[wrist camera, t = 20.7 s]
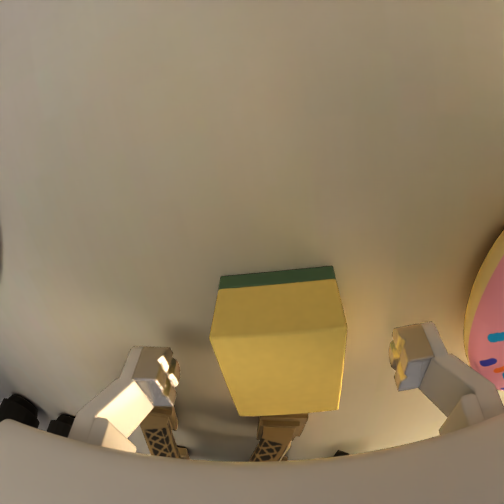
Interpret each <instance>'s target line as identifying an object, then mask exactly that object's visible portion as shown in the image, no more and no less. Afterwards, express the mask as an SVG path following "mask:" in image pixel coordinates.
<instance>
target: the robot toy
mask: <svg viewBox="0 0 504 504" xmlns="http://www.w3.org/2000/svg"><path fill="white" fill-rule="evenodd" d="M5 419H11V420H15V421H17V422H20V423H22V424H25V425H28V426H31V427H34V428H38V426H39V420H38V419H37V409H36V408H35V407H34V406H33V405H32V404H31V403H30V402H28V401H27V400H25V399H24V398H22V397H20V396H18V395H15V394H13V395H12V396H11V397H10V398H9V399H7V398H4V399H3V401H2V403H1V405H0V422H1V421H3V420H5ZM73 422H74V418H72V417H69V416H66V415H61V416H60V417H59V418H58V419H57V420H51V422H50V424H49V427H48V429H47V432H49V433H53V434H56V435H59V436H63V437H66V438H68V435H69V433H70V430H71V427H72V425H73Z"/></svg>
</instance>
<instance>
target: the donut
mask: <svg viewBox="0 0 504 504" xmlns="http://www.w3.org/2000/svg"><path fill="white" fill-rule="evenodd" d="M464 347H465V352H466V356H467V359H468V362H469V364H470V367H471V368H472V369H474V370H475V371H477V372H478V373H479V374H481V375H482V376H483V377H485V378H486V379H488V380H489V381H490V382H492V383H493V384H494V385H495V387H496V389H497V390H503V391H504V230H503V232H502V233H501V234H500V236H499V237H498V238H497V240H496V241H495V243H494V244H493V246H492V247H491V249H490V251H489V252H488V254H487V256H486V258H485V260H484V262H483V263H482V265H481V267H480V270H479V272H478V274H477V276H476V279H475V281H474V284H473V287H472V290H471V293H470V296H469V300H468V303H467V308H466V313H465V320H464Z"/></svg>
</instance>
